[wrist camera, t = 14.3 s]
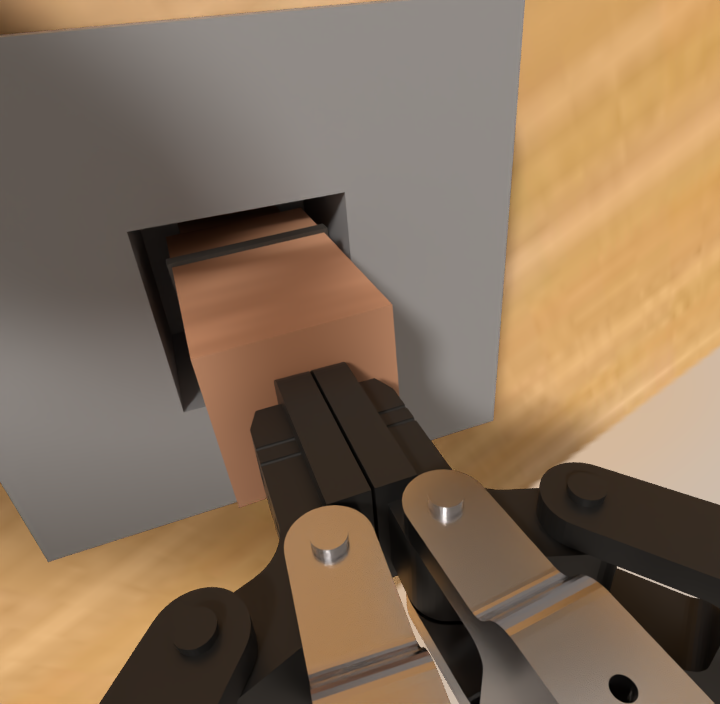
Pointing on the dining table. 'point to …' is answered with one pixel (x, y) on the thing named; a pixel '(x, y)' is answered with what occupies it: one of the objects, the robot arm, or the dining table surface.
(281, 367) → the peg
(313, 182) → the mortise board
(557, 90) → the dining table surface
